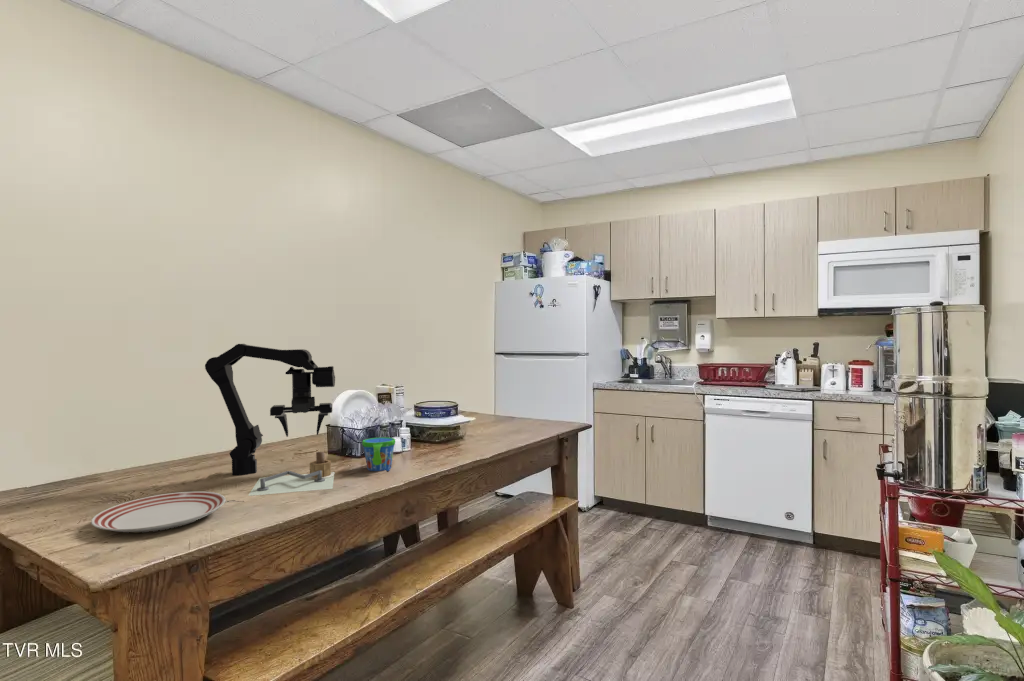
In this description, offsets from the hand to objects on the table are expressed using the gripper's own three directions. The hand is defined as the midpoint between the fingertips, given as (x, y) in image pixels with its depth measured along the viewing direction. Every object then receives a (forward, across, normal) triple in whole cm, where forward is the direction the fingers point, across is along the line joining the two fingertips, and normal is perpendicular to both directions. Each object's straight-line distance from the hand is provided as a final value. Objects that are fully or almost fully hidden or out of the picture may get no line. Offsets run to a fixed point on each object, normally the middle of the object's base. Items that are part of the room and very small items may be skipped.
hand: (302, 435), depth 181 cm
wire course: (+12, -1, -17) cm, 21 cm away
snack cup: (+12, +24, -6) cm, 28 cm away
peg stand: (+11, +6, -11) cm, 17 cm away
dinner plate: (+12, -29, -40) cm, 51 cm away
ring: (+11, +6, -11) cm, 17 cm away
